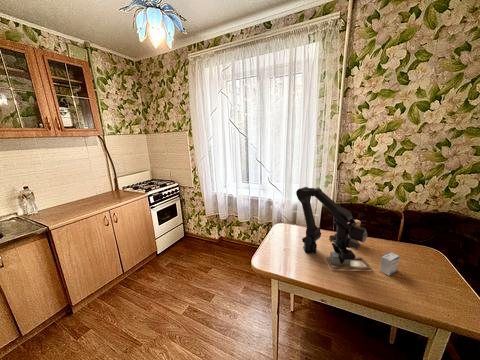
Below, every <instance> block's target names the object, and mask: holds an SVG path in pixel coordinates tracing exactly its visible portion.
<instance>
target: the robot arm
mask: <svg viewBox="0 0 480 360" xmlns="http://www.w3.org/2000/svg"><path fill="white" fill-rule="evenodd" d="M295 194H296V197H297V199H298V201H299V203H301V207H302V211H303V215H304V219H305V223H306V229H305V236H304V237H302V238H301V240H302V241H301V242H302V243H303V247H302V248H303V250H304V253H305V254H317V247H318V243H317V241H318V240H320V239H321V237H322V232H321V228H320V227H318V226H317V225H316V222H315V218H314V213H313V209H312V208H313V207H312V204H311V199H312V197H314V198H316V199H317V200H318V201H319V202H320V203H321V204H323V205H324V207H326V208H327V210H328V211H330V212H331V214H332V216H333V218H334V219H335V221H334V222H332V225H333V226H334V225H335V226H336V233H334V235H329V237H328V240H329V242H330V243H331V246H332V249H333V252H337V253H338V257H339V260H340V263H343V262H344V261H345V260H355V257H357V256H356V254H355V253H354V252H353V251H352V250H351V248H353V249H355V250H359V247H360V246H361V243H363V244H364V243H365V242H366V240H367V238H368V232H367V228H365V227H362V226H360V227H358V226H355V225H356V222H355V221H354V217H353V214H352V212H351V211H349V210H348V209H347V208H345V207H343V206H339V204H338V203H336V202H335V201H334V200H333V199H331V198H330V196H328V195H327V194H326V193H325V192H324V191H323V190H322V189H321V188H319V187H317V188H315V187H308V186H303V187H301V188H297V190H296V191H295ZM323 205H322V206H323ZM348 222H350V223H349V224H348ZM360 242H361V243H360Z"/></svg>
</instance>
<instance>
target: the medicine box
mask: <svg viewBox="0 0 480 360" xmlns="http://www.w3.org/2000/svg"><path fill="white" fill-rule="evenodd" d="M400 257H401V256H400V255H398V254H396V253H393V252H388V253H386V254H384V255H381V258H380V259H381V260H380V266H379V272H381V273H383V274H385V275H387V276H388V277H390V276H392V274H395V273H396V272H398V268H399V263H400V262H399V261H400Z"/></svg>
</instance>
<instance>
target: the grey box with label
mask: <svg viewBox="0 0 480 360" xmlns="http://www.w3.org/2000/svg"><path fill="white" fill-rule="evenodd" d="M329 257H330V262H331V263H332V265H350V261H351V260H345V261H344V262H343V263H340V260H339V257H338V253H337V252H335V251H330V252H329Z"/></svg>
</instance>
